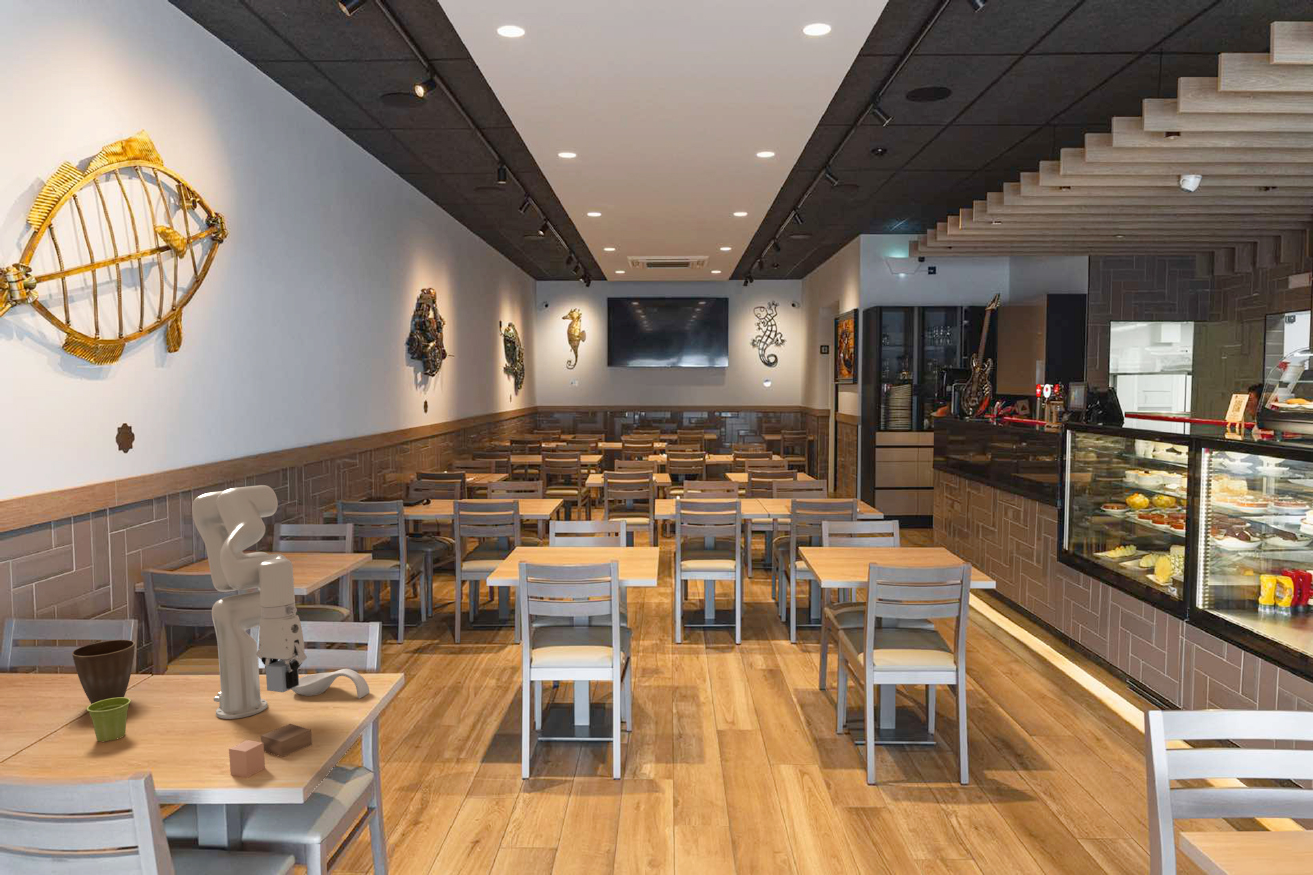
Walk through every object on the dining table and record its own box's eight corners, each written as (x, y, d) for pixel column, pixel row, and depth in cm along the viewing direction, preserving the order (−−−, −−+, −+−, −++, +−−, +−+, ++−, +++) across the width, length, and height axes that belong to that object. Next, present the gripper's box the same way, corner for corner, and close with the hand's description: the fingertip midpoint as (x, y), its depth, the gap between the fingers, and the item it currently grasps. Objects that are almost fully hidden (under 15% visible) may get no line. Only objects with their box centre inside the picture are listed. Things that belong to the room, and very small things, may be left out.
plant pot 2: (141, 731, 221) (139, 698, 221) (107, 746, 212) (105, 712, 212) (114, 728, 224) (112, 695, 224) (80, 742, 215) (77, 708, 215)
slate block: (283, 683, 210) (281, 659, 210) (299, 685, 208) (297, 660, 208) (267, 690, 206) (265, 665, 205) (283, 692, 204) (281, 667, 204)
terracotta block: (230, 774, 194) (228, 748, 194) (248, 765, 199) (246, 739, 199) (247, 777, 192) (245, 751, 192) (265, 768, 197) (263, 742, 197)
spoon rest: (280, 698, 243) (279, 673, 242) (308, 684, 254) (306, 660, 254) (353, 704, 236) (351, 678, 236) (378, 689, 248) (376, 665, 247)
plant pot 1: (149, 698, 246) (145, 643, 245) (92, 716, 233) (88, 658, 232) (122, 690, 254) (118, 637, 253) (66, 707, 241) (61, 651, 240)
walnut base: (261, 751, 207) (260, 735, 207) (291, 739, 214) (290, 723, 213) (282, 758, 203) (281, 741, 202) (311, 745, 210) (310, 729, 209)
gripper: (317, 609, 206) (322, 683, 207) (264, 605, 213) (268, 677, 214) (293, 617, 199) (298, 694, 200) (239, 612, 206) (244, 687, 207)
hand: (283, 684), depth 207 cm, fingers closed on slate block, 5 cm apart
